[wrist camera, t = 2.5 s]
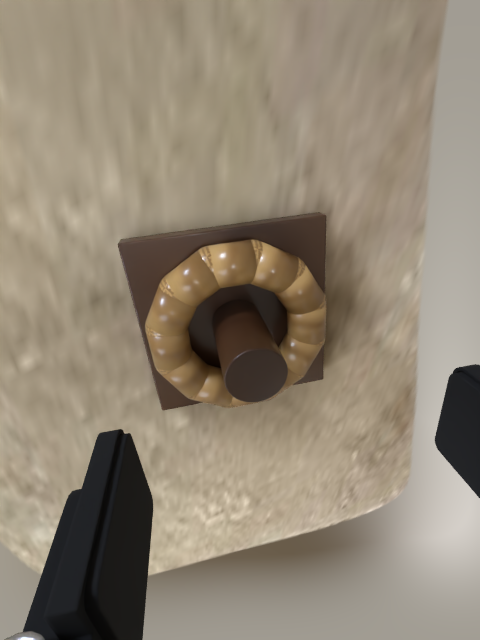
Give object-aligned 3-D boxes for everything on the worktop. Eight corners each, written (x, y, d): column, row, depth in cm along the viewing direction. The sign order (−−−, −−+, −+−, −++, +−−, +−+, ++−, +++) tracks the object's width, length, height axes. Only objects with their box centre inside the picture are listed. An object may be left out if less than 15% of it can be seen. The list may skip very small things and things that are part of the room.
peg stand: (162, 401, 19) (158, 485, 14) (119, 239, 14) (93, 280, 10) (318, 371, 20) (363, 440, 15) (319, 211, 15) (383, 237, 11)
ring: (168, 403, 18) (167, 428, 16) (129, 251, 14) (123, 264, 12) (316, 375, 19) (330, 396, 17) (318, 225, 15) (335, 234, 13)
